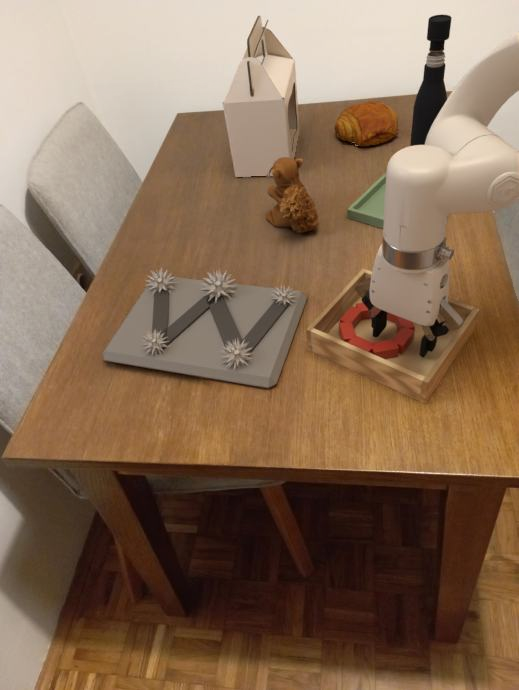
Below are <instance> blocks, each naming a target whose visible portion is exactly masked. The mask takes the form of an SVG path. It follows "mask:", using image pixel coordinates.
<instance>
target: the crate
mask: <svg viewBox="0 0 519 690" xmlns="http://www.w3.org/2000/svg"><path fill="white" fill-rule="evenodd" d="M371 275H372V270H370V269H366V268H364V267H362V268H361V269H360V270H359V271H358V273H357V274H355V276H354V277H353V278H351V280H350V281H349V282H348V283H347V285H346V286H344V288H343V289H342V290H341V291H340V292H339V293H338V294H337V295H336V296H335V297H334V298H333V299H332V301H331V302H330V303H329V304H328V305H327V306H325V308H324V309H323V310H322V312H321V313H320V314H318V316H317V317H316V318H315V319H314V320H313V321H312V322H311V323H310V325H308V326H307V328H306V329H305V333H306V343H307V350H308V351H310V352H312V353H315V354H316V355H319V356H321V357H323V358H326V359H327V360H330V361H332V362H334V363H335V364H338V365H341V366H342V367H345V368H347V369H349V370H351V371H352V372H353V371H354V372H355V373H358V374H359V375H361V376H364V377H366V378H369V379H371V380H373V381H375V382H377V383H379V384H382V385H383V386H385V387H388V388H390V389H392V390H394V391H396V392H398V393H400V394H403V395H405V396H407V397H409V398H412V399H414V400H416V401H418V402H420V403H421V404H426V403H427V401H428V400H429V398H430V397H431V395H432V394H433V392H434V391H435V389H436V388H437V387H438V385H439V383H440V382H441V380H442V379H443V378H444V376H445V374H446V373H447V372H448V370H449V369H450V367H451V366H452V364H453V362H454V361H455V360H456V358H457V357H458V356H459V354H460V353H461V351H462V349H463V348H464V347H465V345H466V344H467V342H468V340H469V339H470V338H471V336H472V335H473V333H474V331H475V328H476V324H477V320H478V316H479V312H480V308H478V307H474V306H472V305H471V304H467V303H464V302H461V301H458V300H456V299H453V298H449V297H448V303H449V305H450V306H451V307H452V308H453V309H454V310H455V311H456V312H457V314H458V315H459V316H460V317H461V318H462V319H463V323H462V325H461V326H460V328H458V329H456V330H454V331H450V332H448V333H447V334H446V335H442V336H439V337H437V342H436V346H435V348H434V350H433V351H432V352H430V351H428V353H427V354H426V355H425V357H424V358H423V357H421V356H420V355H419V354H420V347H421V340H422V337H423V336H424V335H425V333H424V331H423V329H422V326H421V325H420V324H417V323H414V322H413V324H414V326H415V332H414V340H413V341H412V342H411V344H410V345H409V346H408V348H407V349H406V350H405V352H404V353H403V354H399V353H398V357H395V358H389V359H383V358H381V357H379V356H376V355H374V354H372V353H369V352H367V351H365V350H363V349H360V348H358V347H356V346H353V345H351V344H349V343H347V342H344V341H342V340H341V337H340V333H339V323H340V319H341V317H342V316H343V315H344V314H345V313H346V312H347V311H348V310H349V308H350V307H351V306H354V307H356V304H357V303H362V297H360V296H359V294H358V293H357V292H356V290H355V288H354V287H355V286H356V285H357V283H358V282H360V281H362V280H365V279H368V278H371ZM369 290H370V289H369ZM438 316H439V319H440V321H441V322H444V321H446V320H445V319H444V318H443V316H442V315H441V314H440V313H439V314H438ZM371 324H372V318H370V319H365V320H361V321H360V322H359V323H358V324H357V325H356V326H355V328H354V331H355V333H356V336H358V337H361V338H363V339H365V340H368V341H370V342H373V343H374V342H380V341H385V340H391V339H393V338H394V336H395V335H396V334H397V333H398V329H397V327H396V324H395V323H393V322H390V321H388V320H387V325H386V328H385V329H384V330H383V331H382V332H381V334H380V335H379V336H378V337H376V338H375V337H373V328H372V327H371Z"/></svg>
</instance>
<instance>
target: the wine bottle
mask: <svg viewBox="0 0 519 690" xmlns="http://www.w3.org/2000/svg"><path fill="white" fill-rule="evenodd" d="M451 25H452V16H451V15H448V14H435V15H432V16H429V18H428V23H427V32H426V40H427V41H428V42H429V49H428V53H427V56H426V57H425V58H426V59H425V62H426V63H425V64H424V66H423V77H422V82H421V84H420V86H419V87H418V88H419V89H418V91H417V93H416V97H415V99H414V100H415V101H414V103H413V108H412V109H413V110H412V121H411V131H410V132H411V133H410V145H409V146H414V145H425V141H426V138H427V135H428V133H429V130H430V128H431V126H432V124H433V122H434V120H435V119H436V117H437V115H438V113H439V112H440V110H441V109H442V107H443V105H444V104H445V102H446V101H447V99H448V95H447V90H446V89H447V88H446V84H445V73H446V63H445V62H446V61H445V59H446V53H445V43H446V42H445V41H447V40H449V39H450V35H451V34H450V33H451V27H452V26H451Z"/></svg>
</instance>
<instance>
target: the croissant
mask: <svg viewBox="0 0 519 690" xmlns="http://www.w3.org/2000/svg"><path fill="white" fill-rule="evenodd" d="M398 124H399V123H398V114H397V113H396V111H395V110H394V109H392V108H391V107H390V106H389V105H386V104H385V103H383V102H382V101H376V100H369V101H363V102H361V103H357V104H353V105H352V106H351V105H350V106H348V107H346V108H345V109H343V111H342V112H341V113H340V114H339V115H338V117H337V119H336V121H335V124H334V132H335V134H336V135H337V134H338V135H337V137H338V139H340V140H341V139H342V140H341V141H344V142H345V141H349V142H355V144H356V145H358V146H361V147H371V146H370V145H373V146H377V145H381V144H380V143H382V144H384V143H383V142H385V143H387V142H388V141H390V140H391V139H393V138H395V137H396V136H398V134H399V133H398ZM349 142H348V143H349ZM358 146H357V147H358Z"/></svg>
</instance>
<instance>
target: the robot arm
mask: <svg viewBox="0 0 519 690" xmlns="http://www.w3.org/2000/svg"><path fill="white" fill-rule="evenodd" d="M517 92H519V31H518V32H516V33H514V34H513V35H512V36H510V37H508V38H507V39H505V40H504V41H503V42H501V43H500V44H498V45H497V46H496V47H494V49H492V50H491V51H490V52H489V53H487V54H486V55H485V56H484V57H483V58H481V59H480V60H478V61H477V62H476V63H474V65H473V66H472V67H471V68H470V69H469V70H468V71H467V72H465V74H464V75H463V76H462V77H461V78H460V80H459V81H458V82H457V83H456V85H455V86H454V88H453V89H452V91H451V93H449V96H447V101H446V102H445V104H444V105H443V107H442V109H441V110H440V112H439V113H438V115H437V117H436V119H435V120H434V122H433V124H432V126H431V128H430V130H429V133H428V135H427V138H426V141H425V145H414V146H410V145H408V146H406V147H404V148H401V149H400V150H398V151H396V152H395V153H393V154H392V156H391V157H390V159H389V161H387V162H388V163H387V165H386V171H385V173H386V186H385V205H384V224H383V229H382V243H381V244H380V246H379V248H378V250H377V252H376V256H375V258H374V262H373V266H372V270H371V271H372V275H371V278H368V279H365V280H362V281H360V282H358V283H357V285H356V286H355V287H354V288H355V290H356V292H357V293H358V294H359V296H360V297H362V302H363V303H364V305H365V306H366V307H367V308H368V310H369V312H368V313H369V315H370V316H371V317H372V324H371V327H372V328H373V337H375V338H376V337H378V336H379V335H380V334H381V332H382V331H383V330H384V329H385V328H386V325H387V312H388V313H391V314H394V315H396V316H399V317H401V318H404V319H406V320H409V321H412V322H414V323H417V324H420V325H421V326H422V329H423V331H424V333H425V335H424V336H423V337H422V340H421V347H420V354H419V355H420V356H421V357H423V358H424V357H425V355H426V354H427V353H428V351H430V352H432V351H433V350H434V348H435V346H436V342H437V337H439V336H442V335H446V334H447V333H448V332H450V331H454V330H456V329H458V328H460V326H461V325H462V323H463V319H462V318H461V317H460V316H459V315H458V314H457V312H456V311H455V310H454V309H453V308H452V307H451V306H450V305H449V303H448V298H449V296H450V284H451V283H450V282H451V280H450V279H451V274H450V273H451V271H450V270H451V269H450V261H451V260H452V258H453V256H454V253H455V249H453V248H450V247H449V246H447V243H446V242H447V237H446V232H447V227H448V219H449V216H450V215H461V214H463V215H464V214H483V213H491V212H497V211H499V210H502V209H505V208H508V207H509V206H511V205H513V204H515V203H516V202H518V201H519V150H518V149H517V148H515V147H514V146H513V145H512V144H510V143H509V142H507V141H505V140H504V139H503V138H502V137H501V136H499V135H497V133H495V132H494V131H493V130H491V129H490V128H488V126H489V124H491V122H492V120H493V119H494V117H495V116H496V115H497V113H498V112H499V110H500V109H501V108H502V106H504V105H505V103H507V101H508V100H509V99H510V98H511V97H513V96H514V95H515V94H516V93H517ZM369 289H370V290H369ZM439 313H440V314H441V315H442V316H443V318H444V319H445V320H446V321H444V322H441V321H440V319H439V316H438V314H439Z"/></svg>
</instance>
